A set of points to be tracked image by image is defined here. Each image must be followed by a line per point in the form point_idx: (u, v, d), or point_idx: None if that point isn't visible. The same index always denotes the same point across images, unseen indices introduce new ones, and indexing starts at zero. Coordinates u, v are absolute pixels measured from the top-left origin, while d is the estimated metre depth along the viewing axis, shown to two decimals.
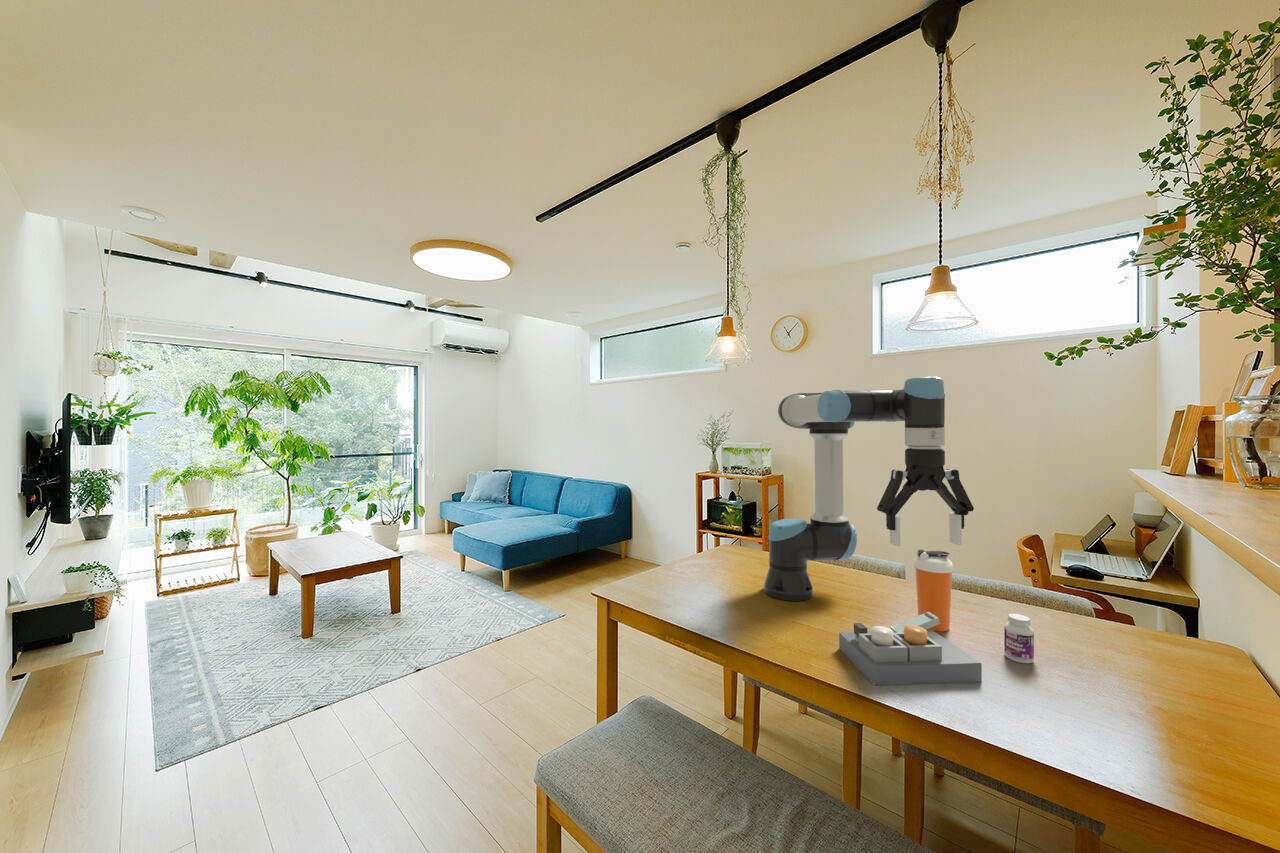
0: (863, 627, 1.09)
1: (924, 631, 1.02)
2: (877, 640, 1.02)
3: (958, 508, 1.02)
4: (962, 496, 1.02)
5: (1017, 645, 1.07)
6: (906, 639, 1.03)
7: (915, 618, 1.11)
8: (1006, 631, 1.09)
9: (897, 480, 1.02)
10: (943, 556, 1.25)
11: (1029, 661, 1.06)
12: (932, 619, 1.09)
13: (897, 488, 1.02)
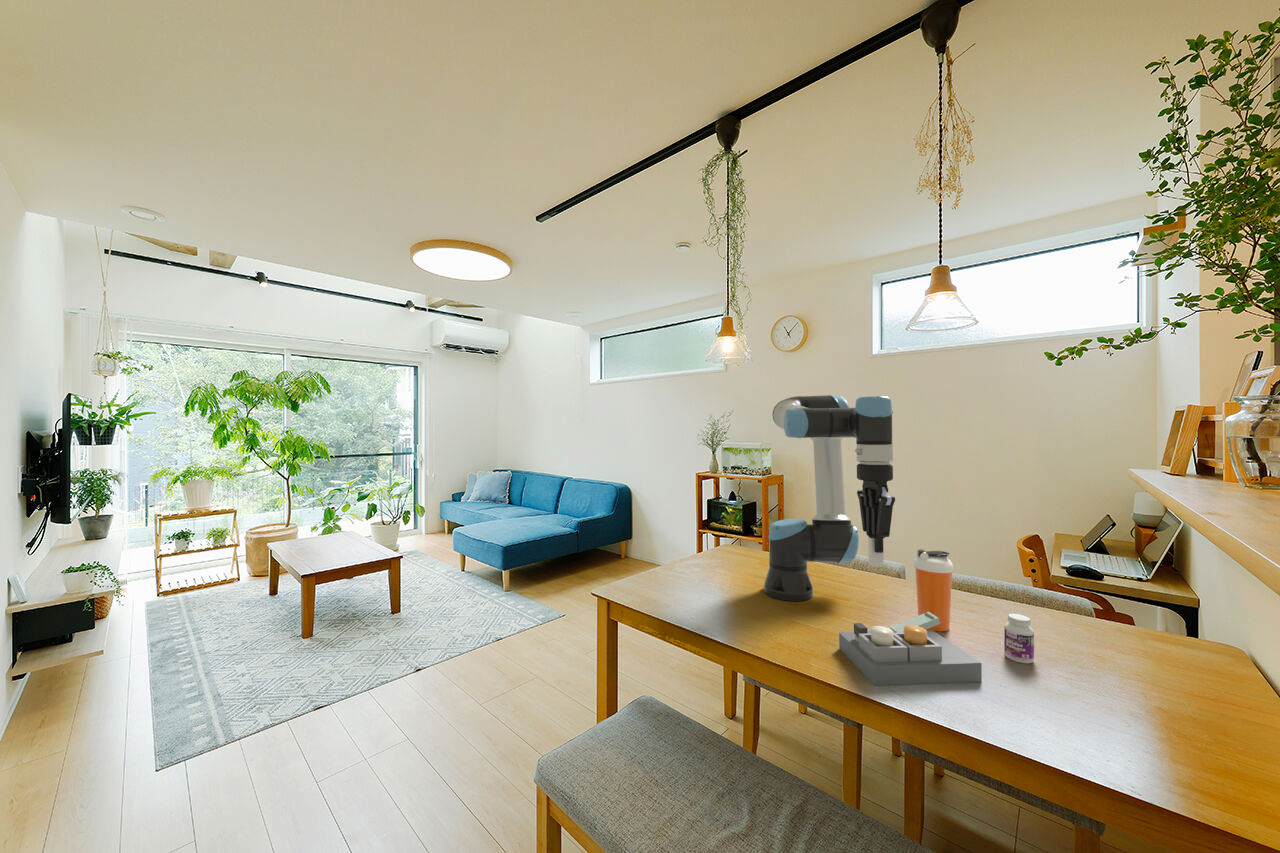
0: (863, 627, 1.09)
1: (924, 631, 1.02)
2: (877, 640, 1.02)
3: (872, 529, 1.07)
4: (877, 519, 1.05)
5: (1017, 645, 1.07)
6: (906, 639, 1.03)
7: (915, 618, 1.11)
8: (1006, 631, 1.09)
9: (859, 499, 1.14)
10: (943, 556, 1.25)
11: (1029, 661, 1.06)
12: (932, 619, 1.09)
13: (861, 505, 1.13)
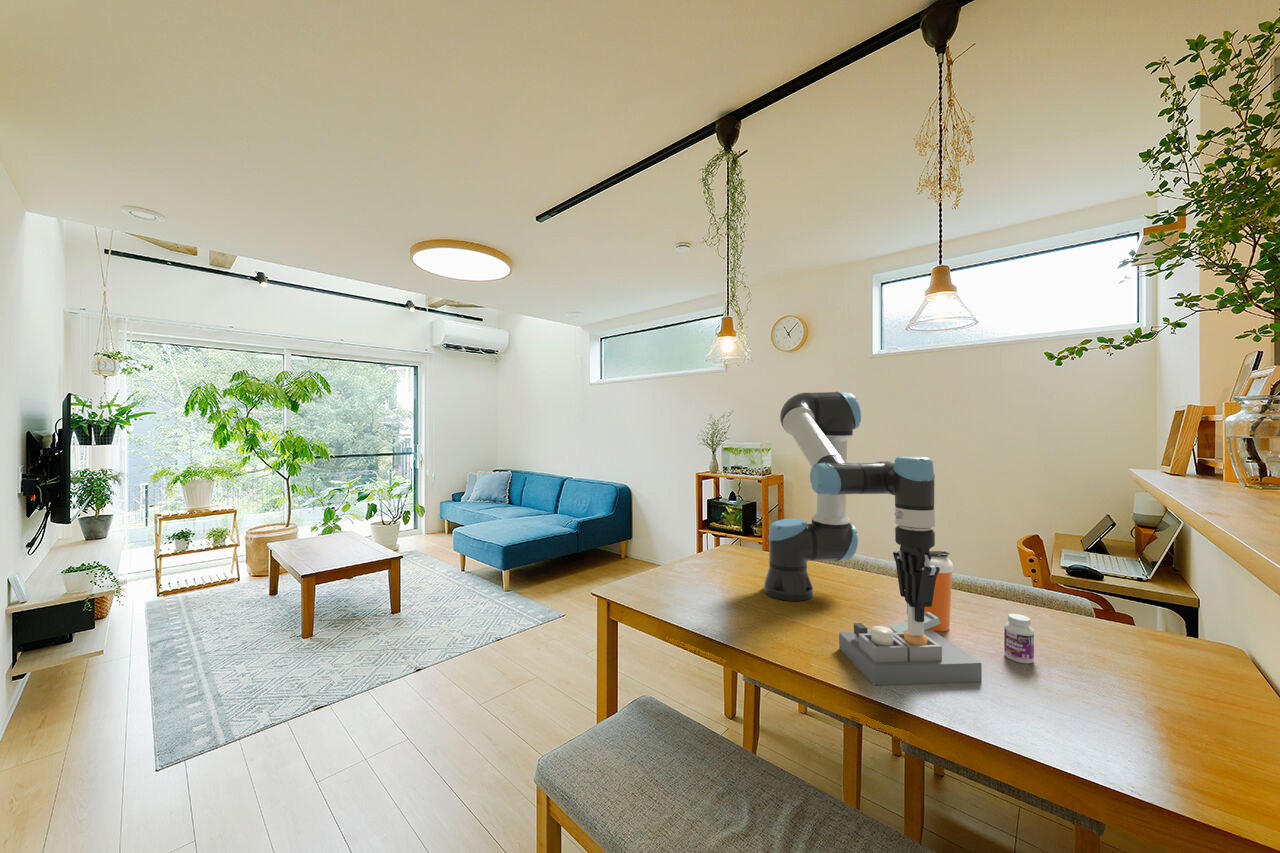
0: (863, 627, 1.09)
1: (924, 637, 1.02)
2: (877, 640, 1.02)
3: (912, 597, 1.02)
4: (919, 588, 1.00)
5: (1017, 645, 1.07)
6: None
7: None
8: (1006, 631, 1.09)
9: (896, 561, 1.08)
10: (943, 556, 1.25)
11: (1029, 661, 1.06)
12: (932, 619, 1.09)
13: (898, 568, 1.07)
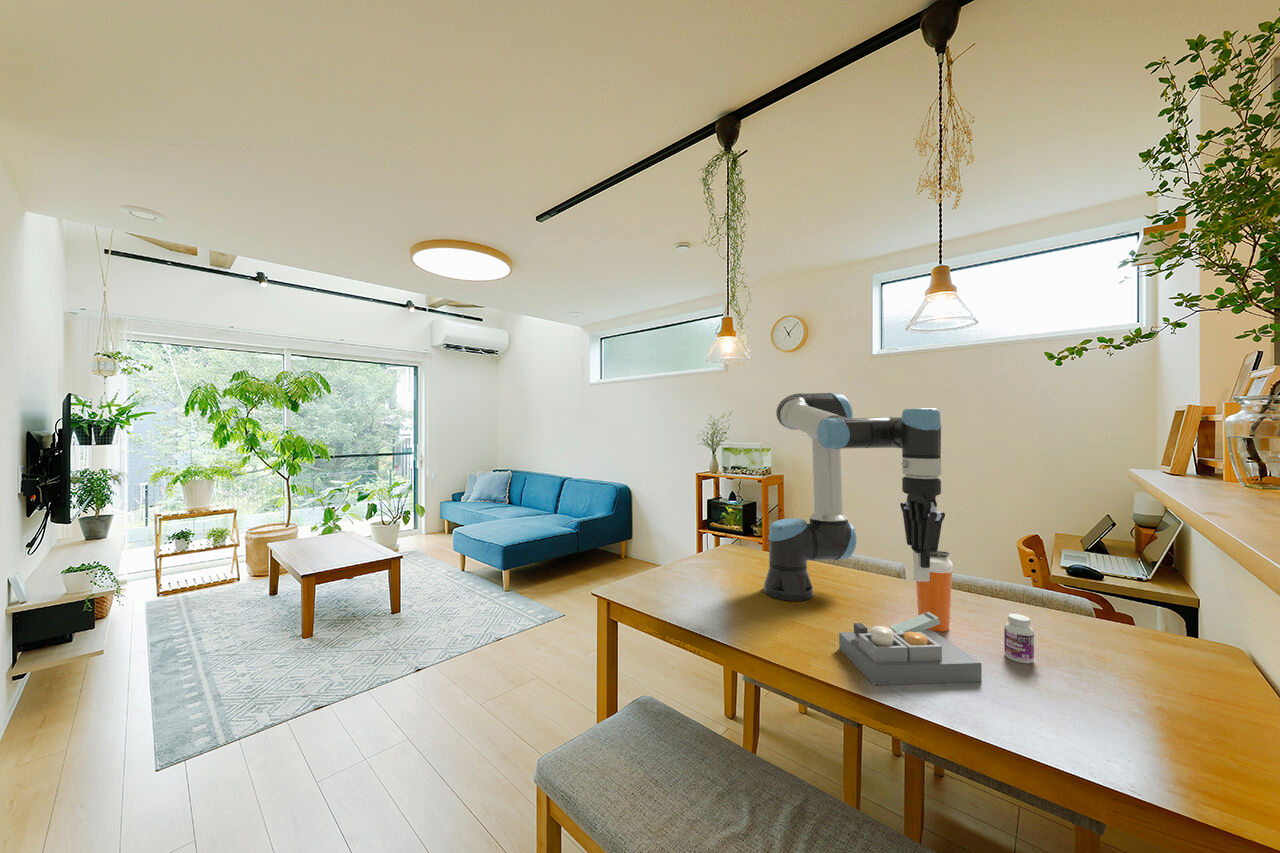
0: (863, 627, 1.09)
1: (924, 638, 1.02)
2: (877, 640, 1.02)
3: (918, 544, 1.05)
4: (925, 534, 1.03)
5: (1017, 645, 1.07)
6: None
7: (915, 618, 1.11)
8: (1006, 631, 1.09)
9: (903, 512, 1.11)
10: (943, 556, 1.25)
11: (1029, 661, 1.06)
12: (932, 619, 1.09)
13: (905, 518, 1.10)
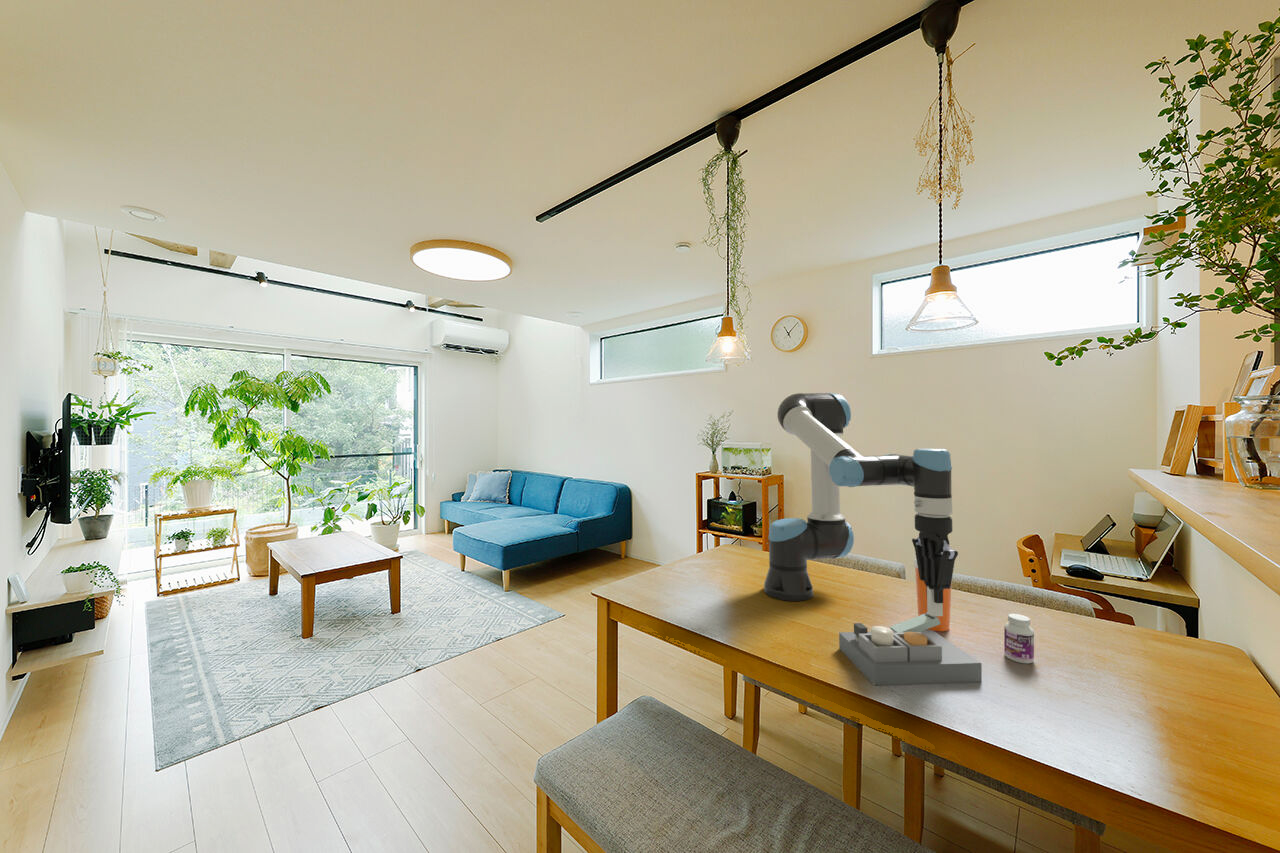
0: (863, 627, 1.09)
1: (924, 638, 1.02)
2: (877, 640, 1.02)
3: (932, 580, 1.09)
4: (939, 571, 1.07)
5: (1017, 645, 1.07)
6: None
7: (915, 618, 1.11)
8: (1006, 631, 1.09)
9: (915, 547, 1.15)
10: None
11: (1029, 661, 1.06)
12: (932, 619, 1.09)
13: (917, 554, 1.14)
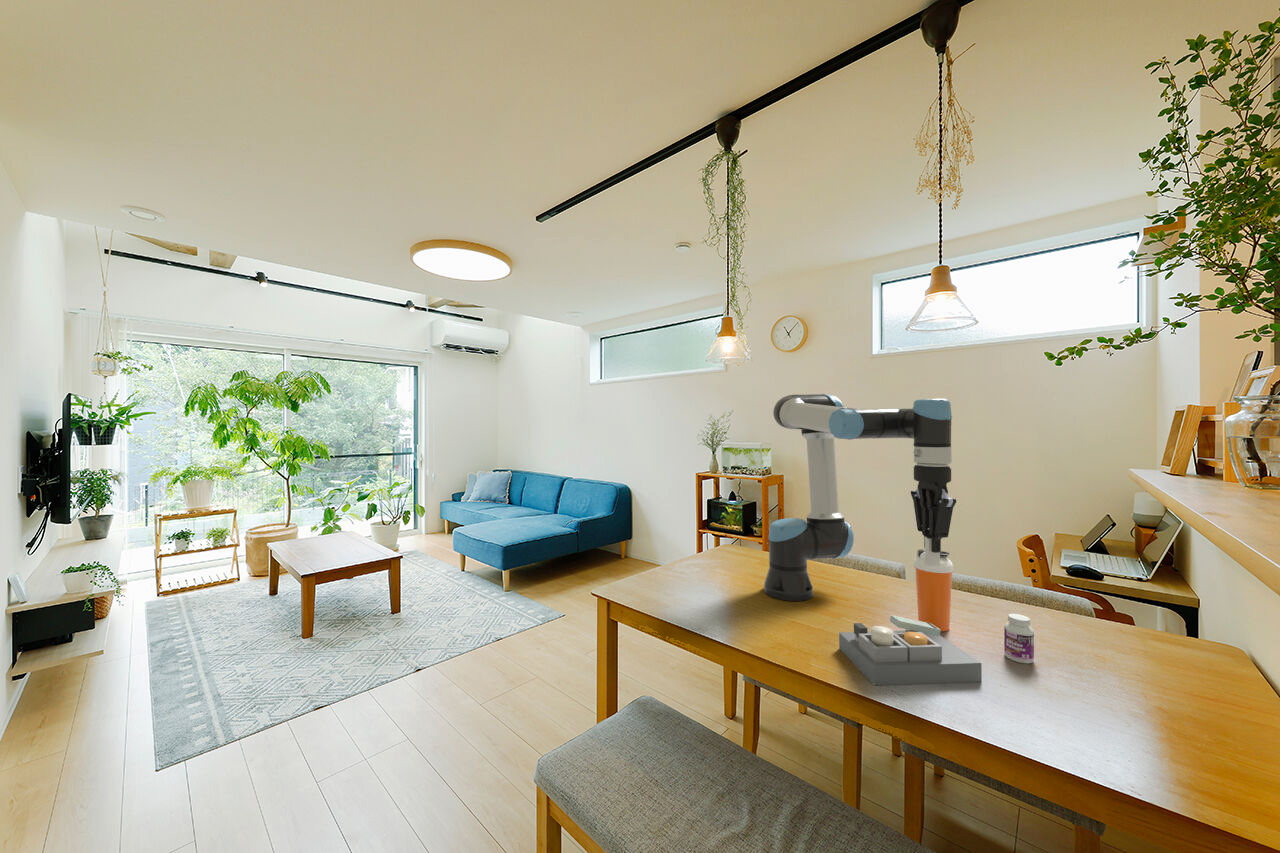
0: (863, 627, 1.09)
1: (924, 638, 1.02)
2: (877, 640, 1.02)
3: (929, 530, 1.09)
4: (937, 520, 1.07)
5: (1017, 645, 1.07)
6: None
7: (917, 621, 1.11)
8: (1006, 631, 1.09)
9: (913, 499, 1.15)
10: (943, 556, 1.25)
11: (1029, 661, 1.06)
12: (934, 628, 1.09)
13: (916, 506, 1.14)
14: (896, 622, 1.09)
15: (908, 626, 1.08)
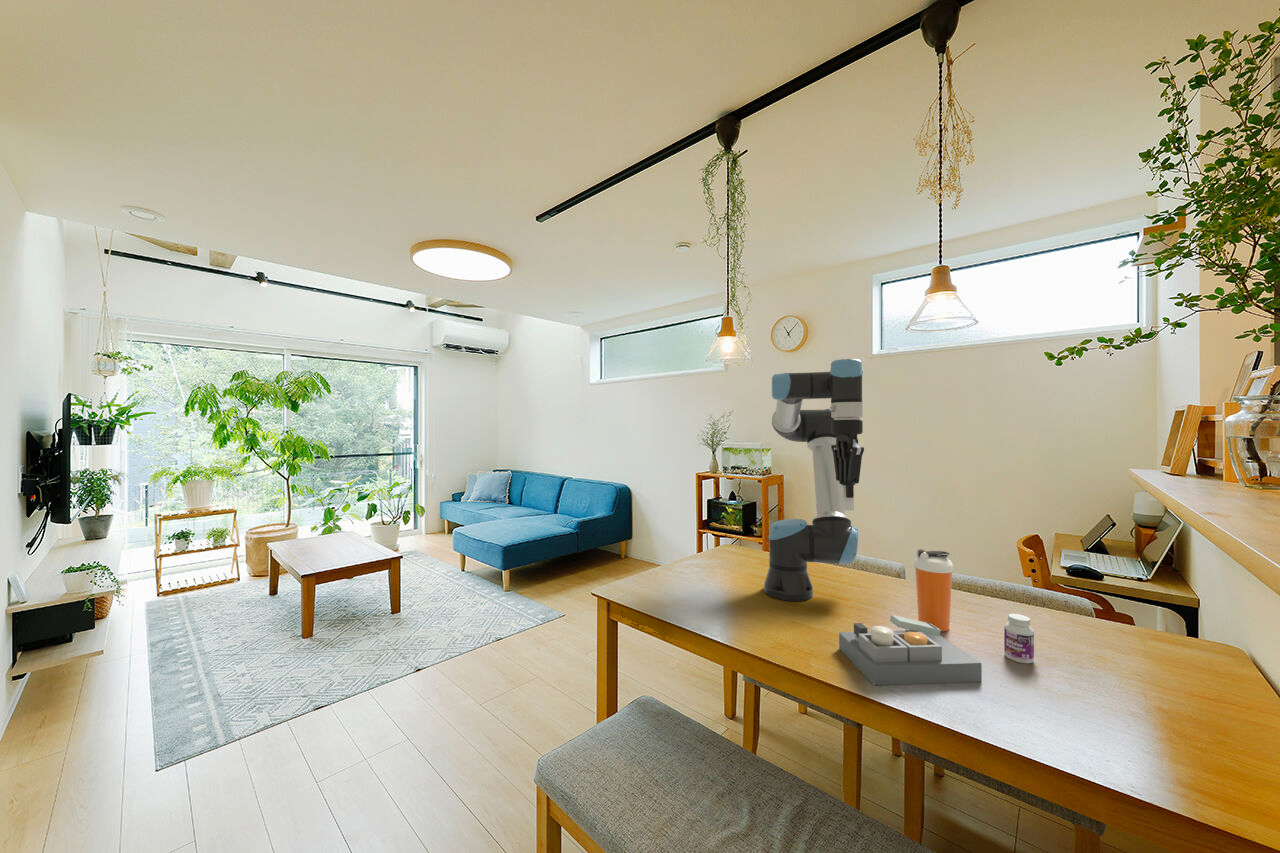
0: (863, 627, 1.09)
1: (924, 638, 1.02)
2: (877, 640, 1.02)
3: (844, 477, 1.21)
4: (848, 467, 1.19)
5: (1017, 645, 1.07)
6: None
7: (917, 621, 1.11)
8: (1006, 631, 1.09)
9: (833, 452, 1.27)
10: (943, 556, 1.25)
11: (1029, 661, 1.06)
12: (934, 628, 1.09)
13: (834, 458, 1.26)
14: (896, 622, 1.09)
15: (908, 626, 1.08)
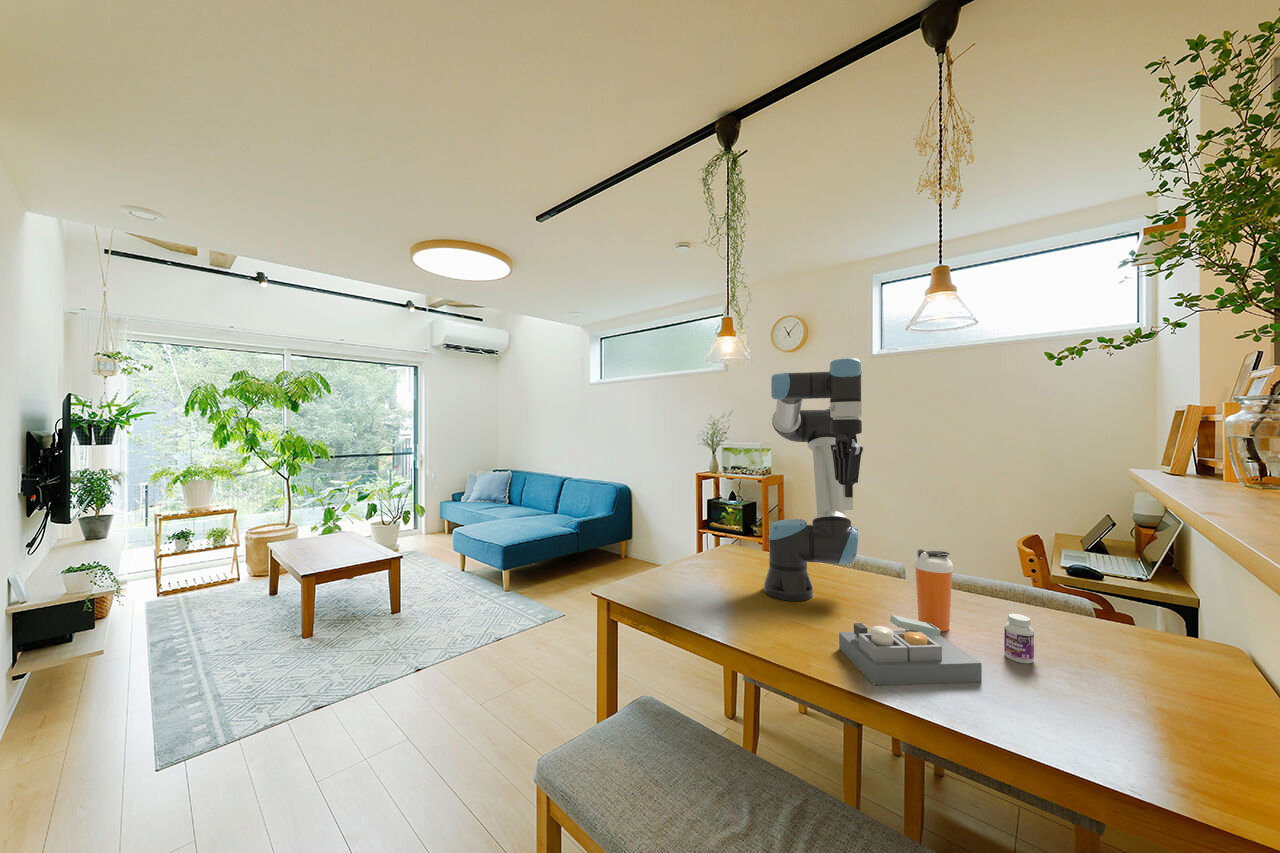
0: (863, 627, 1.09)
1: (924, 638, 1.02)
2: (877, 640, 1.02)
3: (843, 477, 1.21)
4: (848, 467, 1.19)
5: (1017, 645, 1.07)
6: None
7: (917, 621, 1.11)
8: (1006, 631, 1.09)
9: (832, 452, 1.27)
10: (943, 556, 1.25)
11: (1029, 661, 1.06)
12: (934, 628, 1.09)
13: (834, 457, 1.26)
14: (896, 621, 1.09)
15: (908, 626, 1.08)
